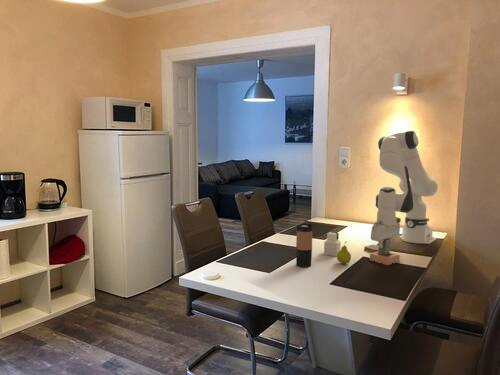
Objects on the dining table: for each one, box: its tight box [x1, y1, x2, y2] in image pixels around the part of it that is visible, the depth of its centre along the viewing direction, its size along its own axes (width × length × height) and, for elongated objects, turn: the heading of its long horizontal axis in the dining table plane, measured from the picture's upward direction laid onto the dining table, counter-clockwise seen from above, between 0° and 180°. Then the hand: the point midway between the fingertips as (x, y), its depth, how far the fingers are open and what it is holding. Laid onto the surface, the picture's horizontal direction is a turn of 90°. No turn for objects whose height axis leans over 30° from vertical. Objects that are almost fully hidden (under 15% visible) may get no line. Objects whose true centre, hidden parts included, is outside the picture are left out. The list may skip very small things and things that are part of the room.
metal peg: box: [378, 238, 392, 256], centre depth 205 cm, size 4×4×8 cm
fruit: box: [336, 240, 352, 265], centre depth 200 cm, size 7×7×12 cm
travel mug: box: [295, 223, 313, 268], centre depth 196 cm, size 8×8×20 cm
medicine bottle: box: [323, 231, 342, 257], centre depth 216 cm, size 7×7×12 cm
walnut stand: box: [363, 244, 379, 253], centre depth 224 cm, size 8×8×2 cm
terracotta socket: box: [369, 251, 401, 266], centre depth 205 cm, size 10×10×4 cm
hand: (384, 246), depth 205 cm, fingers closed on metal peg, 4 cm apart
